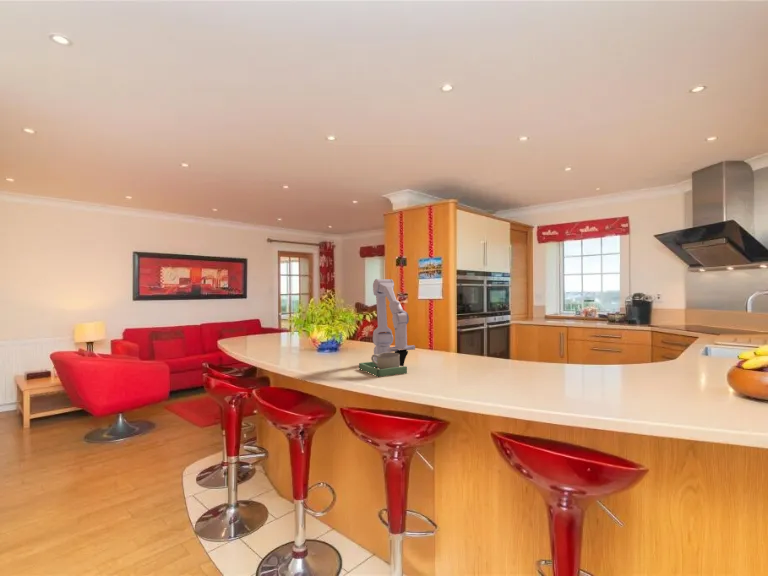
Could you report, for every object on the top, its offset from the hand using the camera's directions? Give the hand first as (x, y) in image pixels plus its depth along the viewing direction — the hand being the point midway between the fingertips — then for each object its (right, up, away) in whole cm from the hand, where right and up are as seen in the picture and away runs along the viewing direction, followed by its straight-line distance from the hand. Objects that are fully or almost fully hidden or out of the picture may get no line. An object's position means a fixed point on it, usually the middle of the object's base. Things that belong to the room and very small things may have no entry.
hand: (401, 365), depth 184 cm
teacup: (-8, -2, -4) cm, 9 cm away
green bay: (-9, -2, -5) cm, 10 cm away
